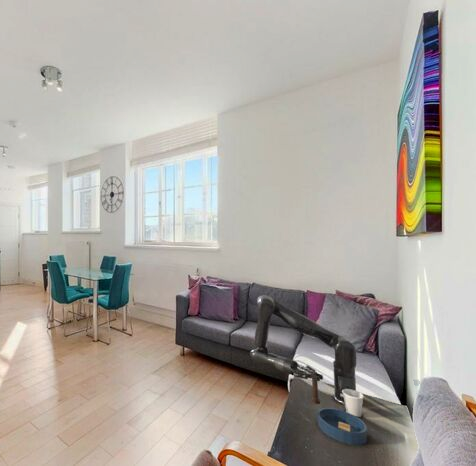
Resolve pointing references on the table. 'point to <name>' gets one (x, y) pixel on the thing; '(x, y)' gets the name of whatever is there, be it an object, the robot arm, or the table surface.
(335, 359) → the robot arm
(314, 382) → the cylinder
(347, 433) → the bowl
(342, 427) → the wooden block
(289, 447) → the table surface
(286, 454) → the table surface
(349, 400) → the dixie cup
